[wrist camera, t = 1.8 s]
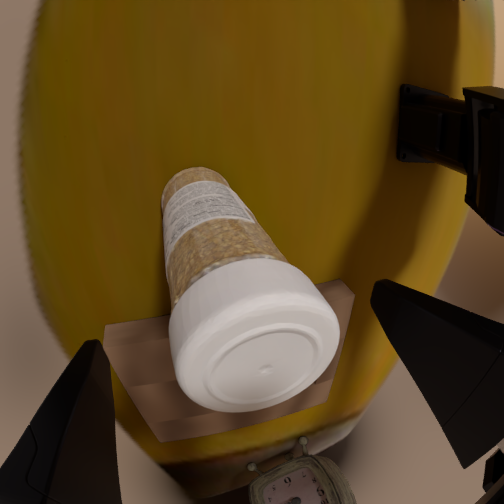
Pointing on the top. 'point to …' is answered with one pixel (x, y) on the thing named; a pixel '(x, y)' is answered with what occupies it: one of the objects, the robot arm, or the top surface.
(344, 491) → the tabletop clock
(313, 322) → the sprinkles bottle
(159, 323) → the wooden board
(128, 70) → the top surface
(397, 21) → the top surface
